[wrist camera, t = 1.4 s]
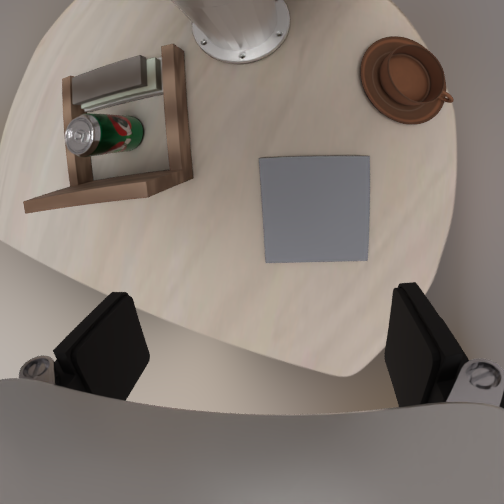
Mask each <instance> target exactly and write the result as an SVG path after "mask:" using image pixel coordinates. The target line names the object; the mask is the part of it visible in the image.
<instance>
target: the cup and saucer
mask: <svg viewBox="0 0 504 504" xmlns="http://www.w3.org/2000/svg"><path fill="white" fill-rule="evenodd" d="M361 80H362V84H363V87H364V90H365V92H366V94H367V96H368V98H369V99H370V101H371V102H372V103H373V105H374V106H375V107H376V108H377V109H378V110H379V111H380V112H381V113H383V114H384V115H386V116H387V117H389V118H391V119H392V120H395V121H397V122H400V123H404V124H420V123H424V122H427V121H429V120H430V119H432V118H433V117H435V116H436V115H437V114H438V112H439V111H440V110H441V108H442V106H443V104H444V101H445V102H448V103H451V102H453V98H452V96H451V95H450V94H448V93H447V92H446V82H445V76H444V71H443V68H442V66H441V64H440V63H439V61H438V60H437V58H436V57H435V56H434V55H433V54H432V53H431V52H430V51H428V50H427V49H426V48H425V47H423V46H422V45H420V44H419V43H417V42H415V41H413V40H410V39H408V38H404V37H396V36H395V37H386V38H382V39H380V40H378V41H376V42H375V43H373V44H372V45H371V46H370V47H369V48H368V49H367V51H366V52H365V54H364V56H363V59H362V62H361ZM445 97H447V98H445Z"/></svg>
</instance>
